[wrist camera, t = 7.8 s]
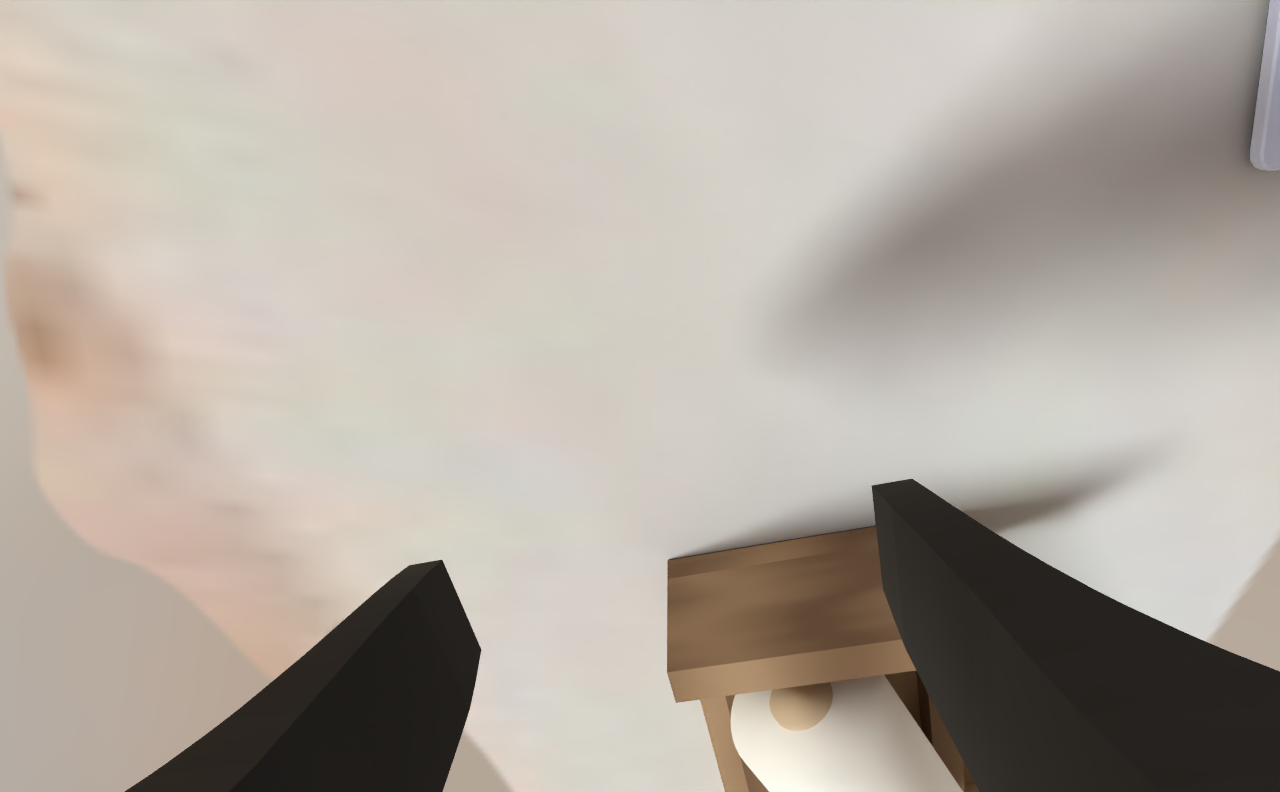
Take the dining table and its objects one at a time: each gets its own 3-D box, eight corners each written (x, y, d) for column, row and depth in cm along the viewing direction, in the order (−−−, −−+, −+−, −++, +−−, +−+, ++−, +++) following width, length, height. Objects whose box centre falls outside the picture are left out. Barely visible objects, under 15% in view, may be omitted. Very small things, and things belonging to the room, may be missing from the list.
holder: (958, 512, 21) (1038, 620, 17) (971, 779, 26) (1035, 918, 22) (667, 560, 22) (667, 672, 18) (733, 805, 27) (745, 942, 23)
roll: (838, 602, 21) (911, 722, 17) (939, 750, 24) (1025, 891, 19) (713, 675, 22) (749, 811, 17) (825, 812, 24) (882, 964, 20)
